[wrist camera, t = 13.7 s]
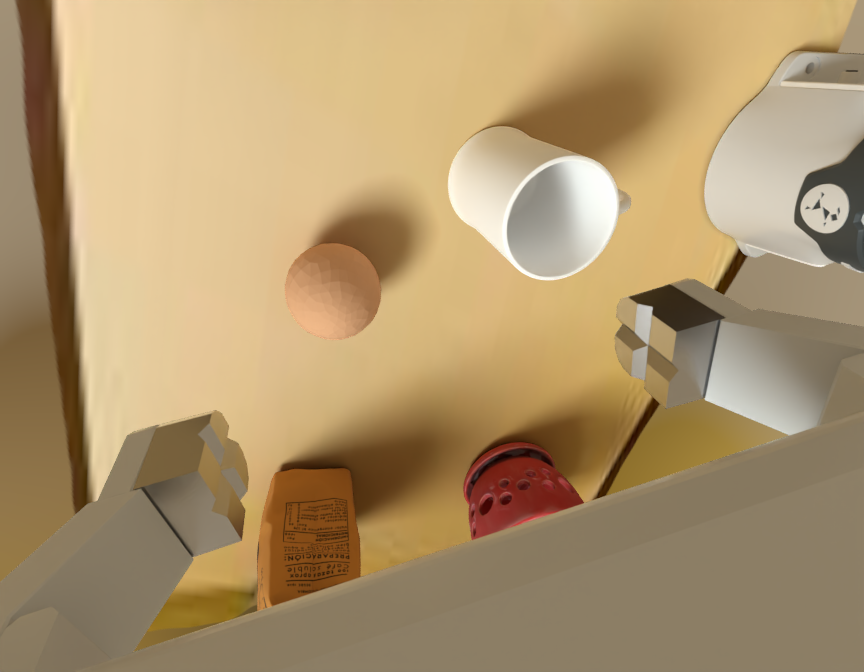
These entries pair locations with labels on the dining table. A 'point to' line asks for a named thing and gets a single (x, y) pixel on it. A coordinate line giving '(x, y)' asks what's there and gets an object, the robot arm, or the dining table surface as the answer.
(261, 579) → the coffee package
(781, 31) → the dining table surface
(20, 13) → the dining table surface
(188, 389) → the dining table surface
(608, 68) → the dining table surface
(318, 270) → the egg
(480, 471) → the plant pot
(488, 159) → the mug
